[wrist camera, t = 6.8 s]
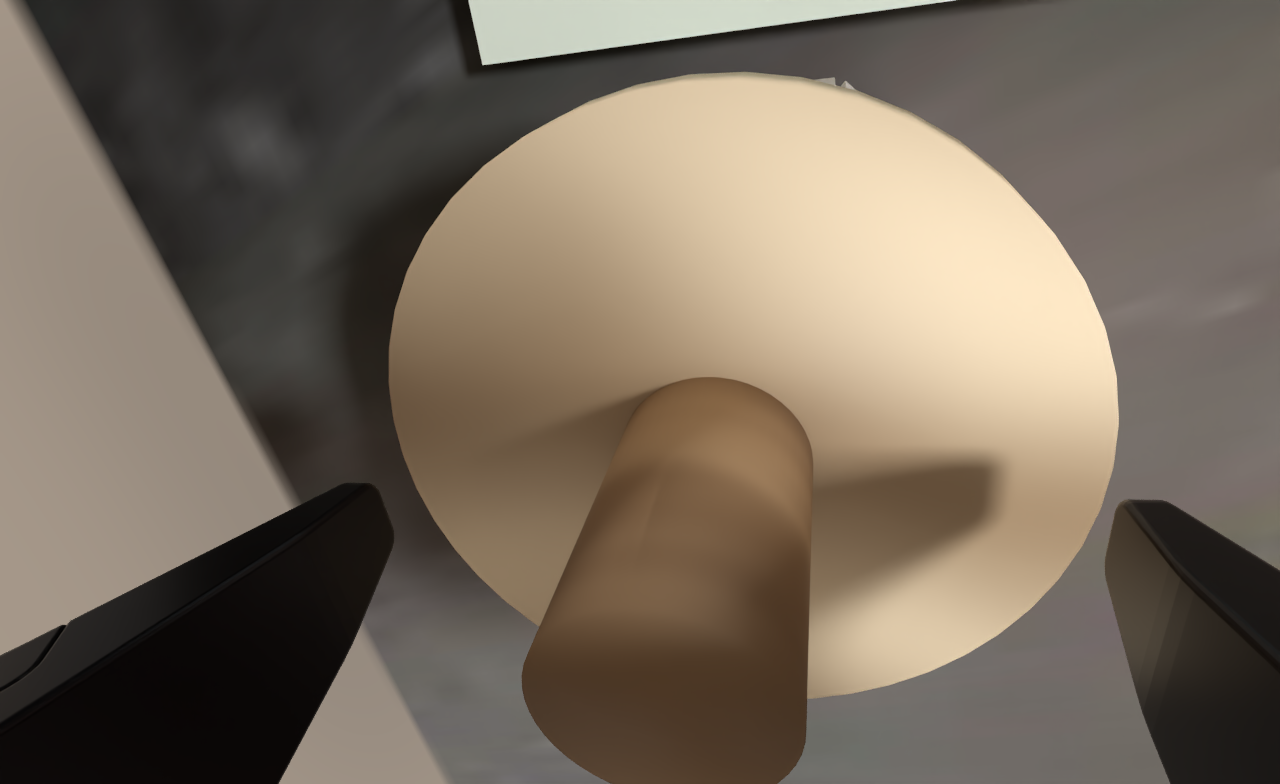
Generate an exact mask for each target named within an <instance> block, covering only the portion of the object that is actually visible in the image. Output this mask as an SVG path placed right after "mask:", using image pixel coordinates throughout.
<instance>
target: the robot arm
mask: <svg viewBox="0 0 1280 784" xmlns="http://www.w3.org/2000/svg"><path fill="white" fill-rule="evenodd" d="M393 544H394V530H393V527H392V524H391V521H390V519H389V516H388V513H387V511H386V508H385V505H384V503H383V500H382V497H381V495H380V492H379V490H378V489H377V488H376V487H375V486H374V485H372V484H370V483H344V484H341V485H339V486H337V487H335V488H333V489H331V490H329V491H327V492H325V493H323V494H321V495H319V496H317V497H315V498H313V499H311V500H309V501H307V502H305V503H303V504H301V505H299V506H297V507H295V508H293V509H291V510H289V511H287V512H285V513H284V514H282V515H279V516H277V517H275V518H273V519H272V520H270V521H268V522H266V523H264V524H262V525H260V526H258V527H256V528H254V529H252V530H250V531H248V532H246V533H244V534H242V535H240V536H238V537H236V538H234V539H232V540H230V541H228V542H226V543H224V544H222V545H220V546H218V547H216V548H214V549H212V550H210V551H208V552H206V553H204V554H202V555H200V556H198V557H196V558H194V559H192V560H190V561H188V562H186V563H184V564H182V565H180V566H178V567H176V568H174V569H172V570H170V571H168V572H166V573H164V574H162V575H161V576H158V577H156V578H154V579H152V580H150V581H148V582H146V583H144V584H142V585H140V586H138V587H137V588H134V589H133V590H131V591H129V592H127V593H124V594H123V595H121V596H119V597H117V598H115V599H113V600H111V601H109V602H107V603H105V604H103V605H101V606H99V607H97V608H95V609H93V610H91V611H89V612H87V613H85V614H83V615H81V616H79V617H77V618H75V619H73V620H71V621H70V622H69V623H68V624H67V625H61V626H59V627H57V628H55V629H53V630H51V631H49V632H47V633H45V634H43V635H41V636H39V637H37V638H35V639H33V640H31V641H29V642H27V643H25V644H23V645H21V646H19V647H17V648H15V649H13V650H11V651H8V652H6V653H4V654H2V655H0V784H279V782H280V780H281V778H282V776H283V774H284V772H285V771H286V769H287V767H288V765H289V763H290V761H291V759H292V757H293V756H294V754H295V752H296V750H297V748H298V746H299V744H300V742H301V741H302V739H303V737H304V735H305V733H306V731H307V729H308V727H309V726H310V724H311V722H312V720H313V718H314V716H315V714H316V712H317V711H318V709H319V707H320V705H321V703H322V701H323V699H324V697H325V695H326V694H327V692H328V690H329V688H330V686H331V684H332V682H333V680H334V679H335V677H336V675H337V673H338V671H339V669H340V667H341V666H342V664H343V662H344V660H345V658H346V656H347V654H348V652H349V650H350V648H351V646H352V644H353V641H354V639H355V637H356V635H357V633H358V630H359V628H360V626H361V623H362V621H363V618H364V616H365V614H366V611H367V609H368V606H369V604H370V602H371V599H372V597H373V594H374V592H375V589H376V587H377V585H378V582H379V580H380V577H381V575H382V573H383V570H384V568H385V565H386V563H387V560H388V558H389V556H390V553H391V551H392V548H393ZM1105 576H1106V581H1107V585H1108V589H1109V593H1110V597H1111V600H1112V604H1113V608H1114V611H1115V615H1116V619H1117V622H1118V626H1119V630H1120V634H1121V637H1122V641H1123V645H1124V648H1125V652H1126V656H1127V660H1128V663H1129V667H1130V671H1131V674H1132V678H1133V682H1134V686H1135V689H1136V693H1137V696H1138V699H1139V703H1140V706H1141V710H1142V713H1143V716H1144V718H1145V721H1146V724H1147V726H1148V729H1149V732H1150V734H1151V737H1152V740H1153V742H1154V744H1155V747H1156V749H1157V752H1158V754H1159V757H1160V759H1161V762H1162V764H1163V767H1164V769H1165V772H1166V774H1167V777H1168V779H1169V782H1170V784H1280V570H1278V569H1277V568H1275V567H1273V566H1272V565H1270V564H1269V563H1267V562H1265V561H1264V560H1262V559H1260V558H1259V557H1257V556H1256V555H1254V554H1252V553H1251V552H1249V551H1247V550H1246V549H1244V548H1243V547H1241V546H1239V545H1238V544H1236V543H1234V542H1233V541H1231V540H1230V539H1228V538H1226V537H1225V536H1223V535H1221V534H1220V533H1218V532H1217V531H1215V530H1213V529H1212V528H1210V527H1208V526H1207V525H1205V524H1204V523H1202V522H1200V521H1199V520H1197V519H1195V518H1194V517H1192V516H1191V515H1189V514H1187V513H1186V512H1184V511H1182V510H1181V509H1179V508H1178V507H1176V506H1174V505H1173V504H1171V503H1169V502H1167V501H1163V500H1130V499H1128V500H1124V501H1122V502H1121V503H1119V505H1118V507H1117V508H1116V511H1115V515H1114V520H1113V524H1112V529H1111V534H1110V538H1109V543H1108V548H1107V552H1106V557H1105Z"/></svg>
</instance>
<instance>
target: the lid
mask: <svg viewBox="0 0 1280 784" xmlns="http://www.w3.org/2000/svg"><path fill="white" fill-rule="evenodd" d="M389 390H390V397H391V405H392V412H393V420H394V424H395V428H396V431H397V435H398V439H399V442H400V446H401V450H402V453H403V457H404V459H405V461H406V464H407V466H408V469H409V471H410V474H411V476H412V478H413V481H414V483H415V486H416V488H417V490H418V492H419V494H420V496H421V497H422V499H423V501H424V503H425V505H426V506H427V508H428V510H429V512H430V514H431V515H432V517H433V519H434V521H435V522H436V523H437V525H438V526H439V528H440V529H441V531H442V532H443V533H444V535H445V536H446V538H447V539H448V540H449V542H450V543H451V545H452V546H453V547H454V549H455V550H456V551H457V552H458V553H459V555H460V556H461V557H462V558H463V559H464V560H465V561H466V563H467V564H468V565H469V566H470V567H471V568H472V569H473V571H474V572H475V573H476V574H477V575H478V576H479V577H480V578H481V579H482V580H483V581H484V582H485V583H486V584H487V585H488V586H490V587H491V588H492V589H493V590H494V591H495V592H496V593H497V594H498V595H499V596H500V597H501V598H502V599H503V600H505V601H506V602H507V603H508V604H510V605H511V606H512V607H514V608H515V609H516V610H518V611H519V612H520V613H521V614H523V615H524V616H525V617H527V618H528V619H529V620H530V621H532V622H533V623H535V624H536V625H538V626H539V629H538V631H537V634H536V636H535V638H534V641H533V643H532V645H531V648H530V650H529V652H528V655H527V657H526V660H525V662H524V666H523V672H522V690H523V694H524V699H525V702H526V704H527V707H528V710H529V712H530V714H531V716H532V717H533V719H534V721H535V723H536V724H537V726H538V727H539V728H540V730H541V731H542V732H543V734H544V735H545V736H546V737H547V738H548V739H549V740H550V742H551V743H552V744H553V745H554V746H555V747H556V748H557V749H559V750H560V751H561V752H562V753H563V754H564V755H565V756H567V757H568V758H569V759H571V760H572V761H573V762H575V763H576V764H577V765H579V766H580V767H582V768H584V769H585V770H587V771H588V772H590V773H592V774H593V775H595V776H597V777H599V778H601V779H603V780H605V781H607V782H609V783H612V784H777V783H778V782H780V781H781V780H782V779H783V778H784V777H786V776H787V775H788V774H789V773H790V772H791V770H792V769H793V768H794V767H795V766H796V764H797V762H798V760H799V759H800V757H801V755H802V752H803V749H804V745H805V740H806V720H807V698H820V697H828V696H836V695H844V694H852V693H857V692H861V691H865V690H870V689H874V688H879V687H883V686H887V685H892V684H895V683H898V682H901V681H903V680H906V679H909V678H912V677H915V676H918V675H921V674H924V673H927V672H930V671H932V670H934V669H936V668H938V667H940V666H943V665H945V664H947V663H949V662H951V661H953V660H956V659H958V658H960V657H962V656H964V655H966V654H968V653H969V652H971V651H972V650H974V649H976V648H977V647H979V646H981V645H982V644H984V643H986V642H987V641H989V640H990V639H992V638H994V637H995V636H997V635H999V634H1000V633H1001V632H1002V631H1004V630H1005V629H1006V628H1007V627H1009V626H1010V625H1011V624H1012V623H1014V622H1015V621H1016V620H1017V619H1019V618H1020V617H1021V616H1022V615H1024V614H1025V613H1026V612H1027V611H1029V610H1030V609H1031V608H1032V607H1033V606H1034V605H1035V604H1036V603H1037V601H1038V600H1039V599H1040V598H1041V597H1042V596H1043V595H1044V594H1045V593H1046V592H1047V591H1048V590H1049V589H1050V588H1051V587H1052V586H1053V585H1054V584H1055V583H1056V582H1057V581H1058V579H1059V578H1060V576H1061V575H1062V574H1063V572H1064V571H1065V569H1066V568H1067V567H1068V565H1069V564H1070V562H1071V561H1072V560H1073V558H1074V557H1075V555H1076V554H1077V553H1078V551H1079V550H1080V548H1081V547H1082V545H1083V543H1084V541H1085V539H1086V537H1087V535H1088V533H1089V531H1090V529H1091V527H1092V525H1093V523H1094V521H1095V519H1096V517H1097V515H1098V513H1099V511H1100V509H1101V506H1102V503H1103V499H1104V496H1105V493H1106V490H1107V486H1108V483H1109V480H1110V476H1111V473H1112V470H1113V466H1114V458H1115V450H1116V442H1117V434H1118V426H1119V415H1118V396H1117V377H1116V372H1115V368H1114V363H1113V359H1112V355H1111V351H1110V346H1109V342H1108V338H1107V334H1106V329H1105V327H1104V324H1103V322H1102V320H1101V317H1100V315H1099V313H1098V310H1097V308H1096V306H1095V303H1094V301H1093V299H1092V296H1091V294H1090V292H1089V289H1088V287H1087V285H1086V282H1085V280H1084V279H1083V277H1082V276H1081V274H1080V272H1079V271H1078V269H1077V268H1076V266H1075V265H1074V263H1073V262H1072V260H1071V259H1070V257H1069V256H1068V254H1067V252H1066V251H1065V249H1064V248H1063V246H1062V245H1061V243H1060V242H1059V240H1058V239H1057V237H1056V235H1055V234H1054V233H1053V232H1052V231H1051V229H1050V228H1049V227H1048V226H1047V225H1046V224H1045V222H1044V221H1043V220H1042V219H1041V218H1040V217H1039V215H1038V214H1037V213H1036V212H1035V211H1034V210H1033V209H1032V207H1031V206H1030V205H1029V204H1028V203H1027V202H1026V201H1025V200H1024V199H1023V198H1022V196H1021V195H1020V194H1019V193H1018V192H1017V191H1016V190H1015V189H1014V188H1013V187H1012V185H1011V184H1010V183H1009V182H1008V181H1007V180H1006V179H1005V178H1004V177H1003V176H1002V174H1000V173H999V172H998V171H997V170H995V169H994V168H993V167H992V166H990V165H989V164H988V163H987V162H985V161H984V160H983V159H982V158H980V157H979V156H978V155H977V154H975V153H974V152H973V151H972V150H971V149H969V148H968V147H967V146H966V145H964V144H963V143H962V142H961V141H959V140H958V139H956V138H954V137H953V136H951V135H949V134H948V133H946V132H944V131H942V130H941V129H939V128H937V127H936V126H934V125H932V124H930V123H929V122H927V121H925V120H923V119H922V118H920V117H918V116H917V115H915V114H913V113H911V112H910V111H907V110H905V109H902V108H900V107H897V106H894V105H892V104H889V103H887V102H884V101H882V100H879V99H877V98H874V97H872V96H869V95H867V94H864V93H862V92H859V91H857V90H853V89H849V88H844V87H840V86H836V85H832V84H828V83H824V82H819V81H815V80H811V79H807V78H803V77H794V76H784V75H773V74H763V73H752V72H731V73H710V74H690V75H685V76H679V77H674V78H669V79H664V80H658V81H653V82H648V83H643V84H638V85H635V86H632V87H629V88H626V89H623V90H620V91H617V92H615V93H612V94H609V95H606V96H603V97H600V98H597V99H594V100H591V101H589V102H587V103H585V104H583V105H581V106H579V107H577V108H575V109H574V110H572V111H570V112H568V113H566V114H564V115H562V116H560V117H558V118H556V119H554V120H552V121H551V122H549V123H547V124H545V125H543V126H541V127H540V128H538V129H536V130H534V131H532V132H531V133H529V134H527V135H525V136H524V137H522V138H521V139H519V140H518V141H517V142H515V143H514V144H513V145H511V146H510V147H509V148H507V149H506V150H505V151H503V152H502V153H500V154H499V155H498V156H496V157H495V158H494V159H492V160H491V161H490V162H488V163H487V164H485V165H484V166H483V167H482V168H481V169H480V170H479V171H478V172H477V173H476V174H475V175H474V176H473V177H472V178H471V179H470V180H469V181H468V182H467V183H466V184H465V185H464V186H463V187H462V188H461V189H460V190H459V191H458V192H457V193H456V194H455V195H454V196H453V197H452V198H451V200H450V201H449V202H448V204H447V205H446V206H445V208H444V209H443V211H442V212H441V213H440V215H439V216H438V218H437V219H436V220H435V222H434V223H433V225H432V226H431V227H430V229H429V230H428V232H427V233H426V234H425V236H424V238H423V240H422V242H421V244H420V246H419V248H418V250H417V252H416V254H415V256H414V258H413V260H412V262H411V264H410V266H409V268H408V270H407V273H406V276H405V279H404V282H403V285H402V289H401V292H400V295H399V298H398V301H397V304H396V308H395V312H394V319H393V325H392V331H391V338H390V344H389Z"/></svg>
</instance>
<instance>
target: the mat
mask: <svg viewBox="0 0 1280 784" xmlns="http://www.w3.org/2000/svg"><path fill="white" fill-rule="evenodd" d="M468 1H469V6H470V10H471V15H472V19H473V24H474V28H475V33H476V37H477V42H478V47H479V51H480V56H481V60H482V65H489V64H496V63H504V62H511V61H518V60H525V59H533V58H540V57H547V56H554V55H562V54H569V53H576V52H584V51H591V50H598V49H605V48H613V47H620V46H627V45H634V44H642V43H649V42H656V41H664V40H671V39H678V38H685V37H693V36H700V35H707V34H714V33H722V32H729V31H736V30H744V29H751V28H758V27H765V26H773V25H780V24H787V23H794V22H802V21H809V20H816V19H824V18H831V17H838V16H845V15H853V14H860V13H867V12H874V11H882V10H889V9H896V8H904V7H911V6H918V5H925V4H933V3H940V2H947V1H954V0H468Z"/></svg>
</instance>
